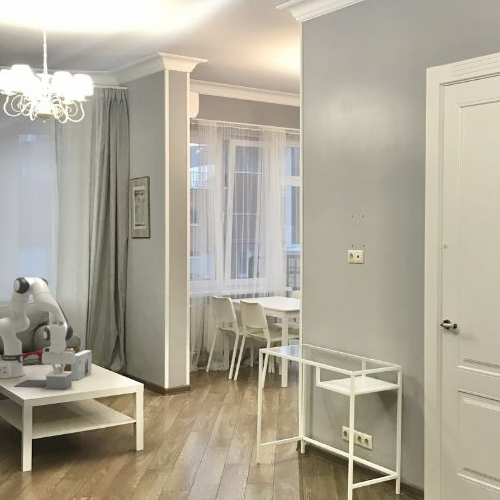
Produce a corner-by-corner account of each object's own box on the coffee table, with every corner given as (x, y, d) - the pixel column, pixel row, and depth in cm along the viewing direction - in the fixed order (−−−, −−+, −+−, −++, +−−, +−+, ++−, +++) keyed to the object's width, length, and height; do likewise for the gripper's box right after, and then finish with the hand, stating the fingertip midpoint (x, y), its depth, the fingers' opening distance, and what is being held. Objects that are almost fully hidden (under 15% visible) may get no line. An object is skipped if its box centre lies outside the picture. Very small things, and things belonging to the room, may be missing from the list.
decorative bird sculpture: (21, 370, 504) (20, 357, 494) (22, 360, 510) (20, 347, 500) (62, 368, 511) (62, 355, 500) (62, 358, 517) (62, 345, 507)
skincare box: (78, 380, 449) (78, 355, 449) (70, 380, 450) (70, 355, 450) (92, 373, 470) (92, 349, 469) (84, 373, 471) (84, 349, 471)
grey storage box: (46, 389, 425) (46, 376, 424) (53, 385, 434) (52, 372, 434) (65, 389, 423) (65, 376, 423) (71, 386, 433) (71, 373, 433)
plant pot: (82, 371, 477) (82, 348, 476) (60, 373, 470) (59, 349, 470) (77, 367, 490) (77, 344, 490) (55, 369, 483) (55, 346, 483)
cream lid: (45, 378, 424) (45, 369, 424) (52, 374, 435) (52, 365, 434) (65, 378, 422) (65, 369, 422) (72, 375, 433) (72, 366, 433)
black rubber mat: (13, 386, 433) (13, 385, 433) (27, 380, 450) (27, 379, 450) (45, 387, 430) (44, 386, 430) (56, 381, 448) (56, 380, 448)
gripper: (76, 347, 430) (77, 370, 430) (44, 347, 432) (45, 369, 433) (72, 349, 423) (73, 372, 424) (40, 349, 426) (40, 371, 427)
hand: (58, 371), depth 428 cm, fingers closed on cream lid, 3 cm apart
